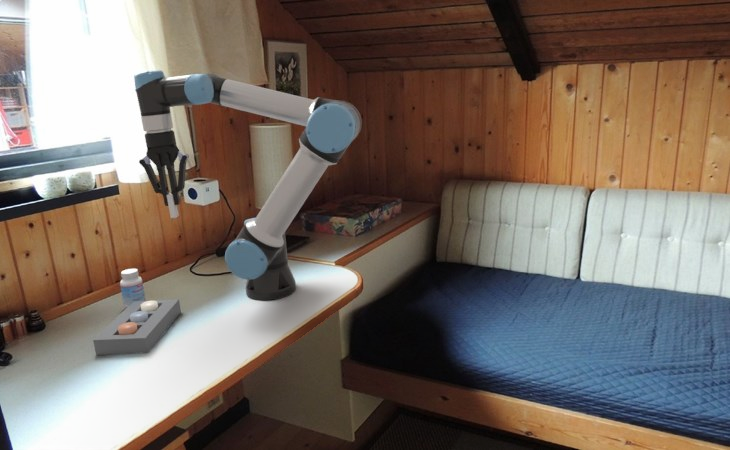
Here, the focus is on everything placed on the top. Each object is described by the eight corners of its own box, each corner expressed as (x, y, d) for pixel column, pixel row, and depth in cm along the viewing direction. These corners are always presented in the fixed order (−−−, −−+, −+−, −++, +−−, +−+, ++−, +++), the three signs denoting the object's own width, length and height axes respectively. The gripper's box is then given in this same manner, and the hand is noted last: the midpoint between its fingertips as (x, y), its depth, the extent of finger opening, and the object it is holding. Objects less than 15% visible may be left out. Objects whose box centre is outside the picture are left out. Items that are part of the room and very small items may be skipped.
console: (181, 312, 164) (179, 299, 163) (148, 352, 141) (145, 337, 139) (136, 314, 164) (133, 301, 163) (96, 354, 141) (93, 340, 140)
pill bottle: (139, 311, 166) (132, 274, 163) (120, 310, 167) (113, 274, 164) (150, 303, 172) (144, 267, 169) (132, 302, 173) (126, 267, 170)
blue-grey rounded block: (152, 324, 154) (150, 310, 153) (145, 331, 150) (143, 317, 149) (136, 324, 154) (133, 311, 153) (129, 332, 150) (126, 318, 149)
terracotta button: (141, 336, 147) (139, 321, 146) (134, 344, 143) (132, 329, 142) (125, 336, 148) (122, 322, 146) (117, 344, 143) (114, 330, 142)
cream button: (161, 313, 161) (159, 300, 160) (156, 320, 157) (153, 306, 156) (146, 314, 161) (144, 300, 160) (140, 320, 157) (137, 307, 156)
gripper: (187, 127, 156) (201, 211, 162) (139, 131, 156) (155, 215, 162) (179, 129, 149) (195, 217, 155) (129, 134, 149) (146, 222, 155)
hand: (174, 216), depth 158 cm, fingers closed
